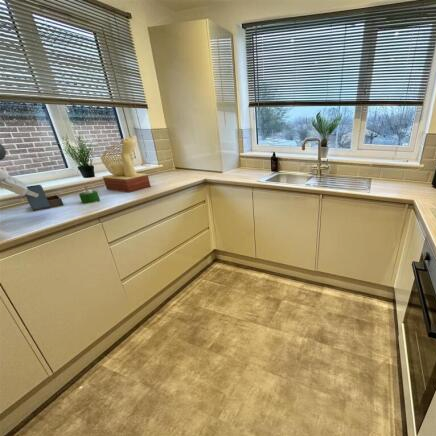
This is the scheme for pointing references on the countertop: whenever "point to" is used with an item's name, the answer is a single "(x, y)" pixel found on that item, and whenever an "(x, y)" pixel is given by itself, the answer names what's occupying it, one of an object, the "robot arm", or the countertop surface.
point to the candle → (89, 196)
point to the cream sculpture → (123, 169)
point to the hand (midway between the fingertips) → (37, 194)
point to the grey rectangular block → (37, 201)
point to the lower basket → (52, 202)
